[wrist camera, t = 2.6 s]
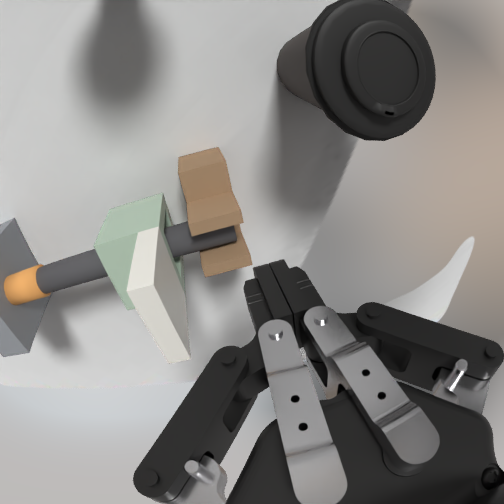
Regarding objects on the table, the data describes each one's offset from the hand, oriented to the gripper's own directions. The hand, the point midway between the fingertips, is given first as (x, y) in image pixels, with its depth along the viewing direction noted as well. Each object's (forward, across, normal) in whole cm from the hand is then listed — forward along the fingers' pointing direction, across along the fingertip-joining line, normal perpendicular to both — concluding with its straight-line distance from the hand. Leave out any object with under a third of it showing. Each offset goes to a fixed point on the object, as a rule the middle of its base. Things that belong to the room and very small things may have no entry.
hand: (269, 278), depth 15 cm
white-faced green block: (+8, +7, 0) cm, 11 cm away
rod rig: (+11, +11, 0) cm, 16 cm away
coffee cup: (+11, -8, -9) cm, 16 cm away
